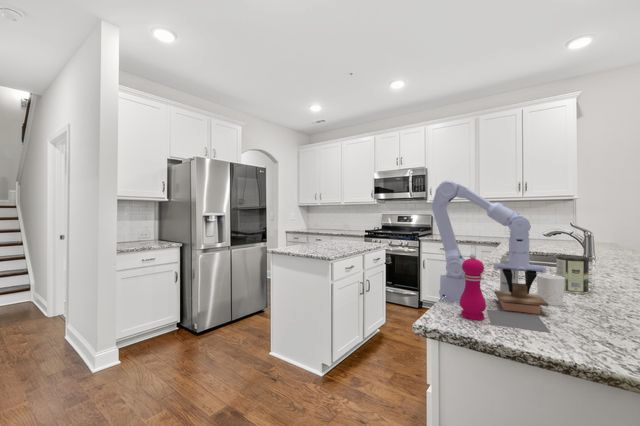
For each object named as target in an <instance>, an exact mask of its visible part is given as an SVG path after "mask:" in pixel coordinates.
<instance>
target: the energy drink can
mask: <svg viewBox="0 0 640 426" xmlns="http://www.w3.org/2000/svg"><path fill="white" fill-rule="evenodd" d="M499 262H500V263H509V254H502V256H501V258H500V260H499ZM513 269H514V268H513ZM499 271H500V273H499V276H500V278H499V291H505V292H509V287H508V283H507V280H506V278H505V275H504V273H503V271H502V270H499ZM511 271H512V274H513V275H512V283H519V271H513V270H511Z"/></svg>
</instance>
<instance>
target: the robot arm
mask: <svg viewBox="0 0 640 426" xmlns="http://www.w3.org/2000/svg"><path fill="white" fill-rule="evenodd" d="M455 198H458V199H459V198H460V199H466V200H468V201H469V202H471V203H473V204H475V205H477V206H478V207H480V208H482V209H484V210H485V211H486V214H487V217H488V218H490V219H492V220H494V221H495V222H497V223H498V224H500V225H501V226H503V227H507V228H509V230H510V231H509V238H508V255H509V263H499V262H494V263H493V270H496V271H498V270H499V271H500V270H502V271H503V273H504V275H505V278H506V280H507V283H508V287H509V292H512V275H513V274H512V271H511V270H513V271H518V272H524V277H525V279H524V280H525V281H524V282H525V283H524V284H525V285H526V286H527V294H530V290H531V286H532V285H533V282H534V281H535V279H537V273H540V274H547V267H546V266H543V265H533V264H530V238H529V237H530V233H529V231H530V230H531V227H532V226H531V223H530V221H529V220H528V219H527V218H526V217H524V216H523V215H520V212H518V211H516V212H515V211H514V210H513V209H510V208H509V207H508V206H507V204H505V203H503V202H502V203H500V202H491V201H489V200H488V199H486V198H484V197H483V196H481V195H480V194H478V193H476V192H475V191H473V190H471V189H470V188H469V187H466V186H464V185H462V184H459V183H456V182H454V181H453V180H451V179H450V180H448V179H447V180H444V181H441V183H440V184H439V185H438V186H437V188H436V189H435V193H434V197H433V200H432V203H431V210H432V213H433V217H434V219H435V223H436V226H437V229H438V232H439V236H440V238H441V239H440V240H441V243H442V246H443V249H444V253H445V261H446V264H445V271H446V273H445V274H440V279H439V291H438V293H439V300H440V301H446V302H447V301H449V302H455V303H456V302H457V303H460V298H461V296H462V294H463V291H464V289H465V279H464V274H465V272H464V271H463V269H462V264H463V262H464V261H465V260H466V259H465V258H464V257H463V254H462V253H461V250H460V249H459V245H458V242H457V239H456V236H455V233H454V230H453V226H452V223H451V219H450V217H449V213H448V210H447V207H448V206H449V205H450V203H451V202H452V200H454V199H455ZM513 268H514V269H513ZM445 296H446V297H445ZM443 297H444V298H443ZM442 298H443V299H442Z"/></svg>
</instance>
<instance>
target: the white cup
mask: <svg viewBox="0 0 640 426" xmlns="http://www.w3.org/2000/svg"><path fill="white" fill-rule="evenodd" d="M536 274H537V273H536ZM564 285H565V277H562V276H558V275H557V274H551V273H538V274H537V276H536V289H537V295H539V296H540V297H541V298H542V299H543V300H544V301H546V302H547V303H548V306H551V307H552V306H553V307H560V306H561V307H563V304H564V296H565V295H564V294H565V292H564Z"/></svg>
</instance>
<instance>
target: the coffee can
mask: <svg viewBox="0 0 640 426" xmlns="http://www.w3.org/2000/svg"><path fill="white" fill-rule="evenodd" d="M555 257H556V274H555V275H558V276H562V277H565V285H564V293H568V294H569V293H570V294H575V295H576V294H577V295H588V294H589V293H590V292H589V262H590V261H589V260H590V257H588V256H583V255H576V254H557V255H555Z"/></svg>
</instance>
